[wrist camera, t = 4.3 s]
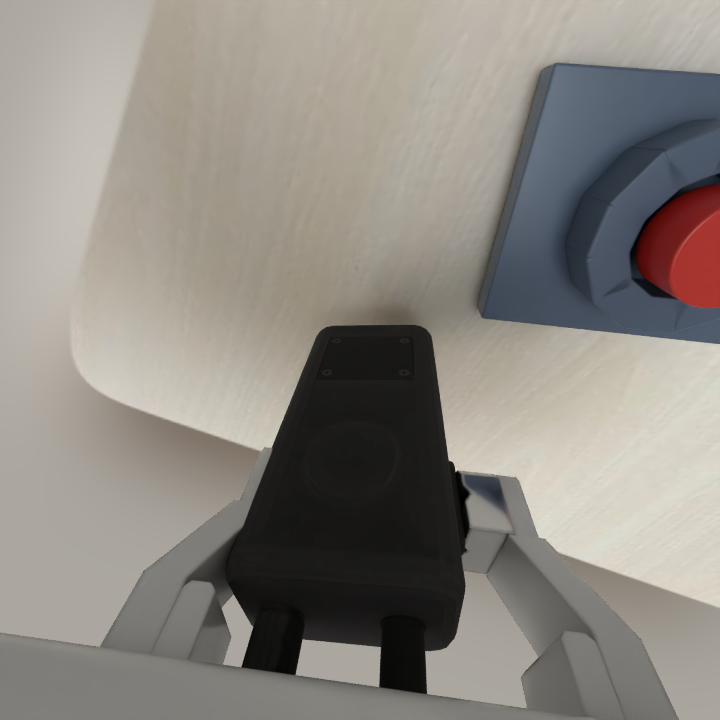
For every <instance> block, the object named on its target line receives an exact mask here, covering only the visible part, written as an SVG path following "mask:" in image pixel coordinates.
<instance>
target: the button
mask: <svg viewBox="0 0 720 720" xmlns="http://www.w3.org/2000/svg"><path fill="white" fill-rule="evenodd" d="M636 263H637V267H638V269H639V271H640V273H641V275H642V276H643V277H644V278H645V279H646V280H648V281H649V282H651V283H652V284H654V285H655V286H657V287H659V288H660V289H662V290H664V291H665V292H667V293H668V294H670V295H672V296H673V297H675V298H677V299H678V300H680V301H681V302H683V303H685V304H687V305H690V306H693V307H699V308H719V307H720V184H712V185H707V186H702V187H699V188H696V189H693V190H691V191H688V192H686V193H684V194H682V195H680V196H679V197H677V198H675V199H674V200H672V201H671V202H669V203H668V204H667V205H665V206H664V207H663V208H662V209H661V210H660V211H659V212H658V213H657V214H656V215H655V216H654V217H653V218H652V219H651V220H650V221H649V223H648V224H647V226H646V227H645V229H644V231H643V232H642V234H641V236H640V239H639V241H638V245H637V249H636Z"/></svg>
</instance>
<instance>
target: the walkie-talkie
mask: <svg viewBox="0 0 720 720" xmlns="http://www.w3.org/2000/svg"><path fill="white" fill-rule="evenodd" d="M455 473H456V472H455V467H454V463H453V462H451V461H449V460H448V453H447V445H446V438H445V431H444V423H443V416H442V409H441V401H440V394H439V386H438V379H437V372H436V364H435V357H434V350H433V342H432V337H431V335H430V333H429V332H428V331H427V330H426V329H425V328H423V327H421V326H417V325H354V326H330V327H326V328H324V329H323V330H321V331H320V332H319V334H318V335H317V337H316V339H315V342H314V344H313V347H312V349H311V352H310V354H309V357H308V359H307V362H306V364H305V367H304V369H303V371H302V374H301V376H300V379H299V381H298V384H297V386H296V389H295V391H294V394H293V396H292V399H291V401H290V404H289V406H288V409H287V411H286V414H285V416H284V419H283V421H282V424H281V426H280V429H279V431H278V434H277V436H276V439H275V441H274V444H273V446H272V452H271V455H270V458H269V460H268V463H267V465H266V468H265V470H264V473H263V476H262V478H261V481H260V483H259V486H258V488H257V491H256V493H255V496H254V499H253V501H252V504H251V506H250V509H249V512H248V514H247V517H246V520H245V523H244V525H243V527H242V529H241V531H240V533H239V535H238V536H237V538H236V540H235V542H234V544H233V546H232V548H231V551H230V553H229V556H228V558H227V561H226V567H225V572H226V580H227V582H228V585H229V587H230V589H231V590H232V592H233V594H234V595H235V597H236V599H237V601H238V602H239V604H240V606H241V608H242V609H243V611H244V613H245V614H246V616H247V618H248V619H249V621H250V623H251V625H252V626H253V630H252V633H251V637H250V640H249V643H248V647H247V650H246V653H245V657H244V660H243V664H242V668H249V669H256V670H263V671H269V672H276V673H283V674H290V675H295V674H296V669H297V664H298V659H299V654H300V649H301V643H302V639H305V640H315V641H325V642H336V643H346V644H356V645H367V646H376V647H381V659H380V684H379V687H380V688H387V689H394V690H401V691H408V692H415V693H422V694H427V684H426V660H425V651H434V650H441V649H444V648H446V647H447V646H448V645H449V644H450V643H451V642H452V640H453V639H454V638H455V635H456V632H457V628H458V623H459V617H460V613H461V609H462V604H463V599H464V594H465V578H464V571H463V564H462V555H463V554H464V552H465V533H464V526H463V520H462V513H461V506H460V499H459V493H458V487H457V480H456V474H455Z"/></svg>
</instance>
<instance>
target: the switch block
mask: <svg viewBox="0 0 720 720" xmlns="http://www.w3.org/2000/svg"><path fill="white" fill-rule="evenodd" d="M712 184H720V74H712V73H697V72H683V71H669V70H655V69H640V68H626V67H612V66H598V65H583V64H569V63H555V64H553V65H551V66H548V67H546V68H544V69H543V70H542V71H541V75H540V78H539V82H538V86H537V89H536V93H535V96H534V100H533V104H532V107H531V111H530V115H529V118H528V122H527V126H526V129H525V133H524V137H523V140H522V144H521V147H520V151H519V155H518V158H517V162H516V166H515V169H514V173H513V177H512V180H511V184H510V187H509V191H508V195H507V198H506V202H505V206H504V209H503V213H502V217H501V220H500V224H499V228H498V231H497V235H496V238H495V242H494V246H493V249H492V253H491V257H490V260H489V264H488V268H487V271H486V275H485V279H484V282H483V286H482V289H481V293H480V297H479V300H478V304H477V307H478V310H479V312H480V315H481V317H482V318H485V319H494V320H503V321H512V322H522V323H531V324H540V325H549V326H558V327H568V328H577V329H586V330H595V331H604V332H613V333H623V334H632V335H641V336H650V337H659V338H669V339H678V340H687V341H696V342H705V343H714V344H720V307H719V308H699V307H693V306H690V305H687V304H685V303H683V302H681V301H680V300H678V299H677V298H675V297H673V296H672V295H670V294H668V293H667V292H665V291H664V290H662V289H660V288H659V287H657V286H655V285H654V284H652V283H651V282H649V281H648V280H646V279H645V278H644V277H643V276H642V275H641V273H640V271H639V269H638V267H637V263H636V249H637V245H638V241H639V239H640V236H641V234H642V232H643V231H644V229H645V227H646V226H647V224H648V223H649V221H650V220H651V219H652V218H653V217H654V216H655V215H656V214H657V213H658V212H659V211H660V210H661V209H662V208H663V207H664V206H665V205H667V204H668V203H669V202H671V201H672V200H674V199H675V198H677V197H679V196H680V195H682V194H684V193H686V192H688V191H691V190H693V189H696V188H699V187H702V186H707V185H712Z"/></svg>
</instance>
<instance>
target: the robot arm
mask: <svg viewBox="0 0 720 720" xmlns="http://www.w3.org/2000/svg"><path fill="white" fill-rule="evenodd" d="M271 452H272V448H267V447H264V449H263V450H262V451H261V452H260V455H259V457H258V459H257V462H256V464H255V466H254V469H253V471H252V473H251V476H250V478H249V480H248V483H247V485H246V487H245V490H244V492H243V494H242V497H241V499H240V501H239V500H234V501H233V502H231V503H230V504H228V505H227V506H226V507H225V508H223V509H222V510H221V511H220V512H218V513H217V514H216V515H214V516H213V517H212V518H211V519H209V520H208V521H207V522H206V523H204V524H203V525H202V526H200V527H199V528H198V529H197V530H195V531H194V532H193V533H192V534H190V535H189V536H188V537H187V538H185V539H184V540H183V541H181V542H180V543H179V544H178V545H176V546H175V547H174V548H172V549H171V550H170V551H169V552H167V553H166V554H165V555H164V556H162V557H161V558H160V559H159V560H157V561H156V562H155V563H153V564H152V565H151V566H150V567H148V568H147V569H146V570H144V571H143V573H142V575H141V577H140V578H139V580H138V582H137V583H136V585H135V587H134V589H133V590H132V592H131V594H130V595H129V597H128V599H127V601H126V602H125V604H124V606H123V608H122V609H121V611H120V613H119V614H118V616H117V618H116V620H115V621H114V623H113V625H112V627H111V628H110V630H109V632H108V634H107V635H106V637H105V639H104V640H103V642H102V644H101V646H100V647H96V646H89V645H82V644H75V643H68V642H62V641H55V640H48V639H40V638H34V637H27V636H19V635H12V634H6V633H0V720H679V719H678V717H677V715H676V712H675V710H674V708H673V706H672V704H671V702H670V700H669V698H668V696H667V693H666V691H665V689H664V687H663V685H662V683H661V681H660V678H659V676H658V674H657V672H656V670H655V668H654V666H653V664H652V661H651V660H650V657H649V655H648V653H647V651H646V649H645V647H644V644H643V642H642V640H641V639H640V638H639V637H638V636H637V634H636V633H635V632H634V631H633V630H632V629H631V628H630V627H629V626H628V625H627V624H626V623H625V622H624V621H623V620H622V619H621V618H620V617H619V616H618V615H617V614H616V613H615V612H614V610H612V608H611V607H610V606H609V605H608V604H607V603H606V602H605V601H604V600H603V599H602V598H601V597H600V596H599V595H598V594H597V593H596V592H595V591H594V590H593V589H592V588H591V586H589V584H588V583H587V582H585V580H584V579H583V578H582V577H581V576H580V575H579V574H578V573H577V572H576V571H575V570H574V569H573V568H572V567H571V566H570V565H569V564H568V563H567V561H566V560H565V559H564V558H563V557H562V556H561V555H560V554H559V553H558V552H557V551H556V550H555V549H554V548H553V547H552V546H551V545H550V544H549V543H548V542H547V541H546V540H545V539H542V538H539V537H538V534H537V531H536V529H535V526H534V523H533V520H532V517H531V514H530V511H529V508H528V505H527V503H526V500H525V497H524V494H523V491H522V488H521V485H520V482H519V480H518V479H517V478H516V477H509V476H501V475H494V474H486V473H477V472H467V471H457V472H456V473H455V474H456V480H457V487H458V493H459V499H460V506H461V513H462V520H463V526H464V533H465V552H464V554H463V555H462V564H463V570H464V571H470V572H477V573H483V574H487V575H486V576H487V578H488V579H489V581H490V583H491V584H492V585H493V587H494V589H495V590H496V592H497V593H498V595H499V596H500V598H501V599H502V601H503V603H504V604H505V606H506V607H507V609H508V610H509V612H510V613H511V615H512V616H513V618H514V620H515V621H516V622H517V624H518V626H519V627H520V629H521V630H522V632H523V633H524V635H525V636H526V638H527V640H528V641H529V643H530V644H531V646H532V647H533V649H534V650H535V652H536V654H537V655H538V657H539V658H538V659H537V660H536V661H535V662H534V663H533V664H532V665H531V666H530V667H529V668H528V669H527V670H526V671H525V672H524V674H523V675H522V676H521V681H522V685H523V690H524V695H525V700H526V704H527V709H526V708H519V707H512V706H505V705H498V704H491V703H484V702H478V701H471V700H464V699H457V698H450V697H443V696H436V695H429V694H422V693H415V692H408V691H401V690H394V689H387V688H380V687H374V686H367V685H359V684H353V683H346V682H339V681H331V680H325V679H318V678H311V677H304V676H297V675H290V674H283V673H276V672H269V671H263V670H256V669H249V668H242V667H235V666H228V665H223V662H224V659H225V655H226V652H227V649H228V646H229V643H230V640H231V635H230V632H229V629H228V626H227V623H226V620H225V617H224V615H223V611H222V609H221V608H222V607H223V605H224V604H225V603H226V602H227V601H228V600H229V599H230V598H231V596H232V595H233V592H232V590H231V589H230V587H229V585H228V582H227V580H226V572H225V567H226V561H227V558H228V556H229V553H230V551H231V548H232V546H233V544H234V542H235V540H236V538H237V536H238V535H239V533H240V531H241V529H242V527H243V525H244V523H245V520H246V517H247V514H248V512H249V509H250V506H251V504H252V501H253V499H254V496H255V493H256V491H257V488H258V486H259V483H260V481H261V478H262V476H263V473H264V470H265V468H266V465H267V463H268V460H269V458H270V455H271Z"/></svg>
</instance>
